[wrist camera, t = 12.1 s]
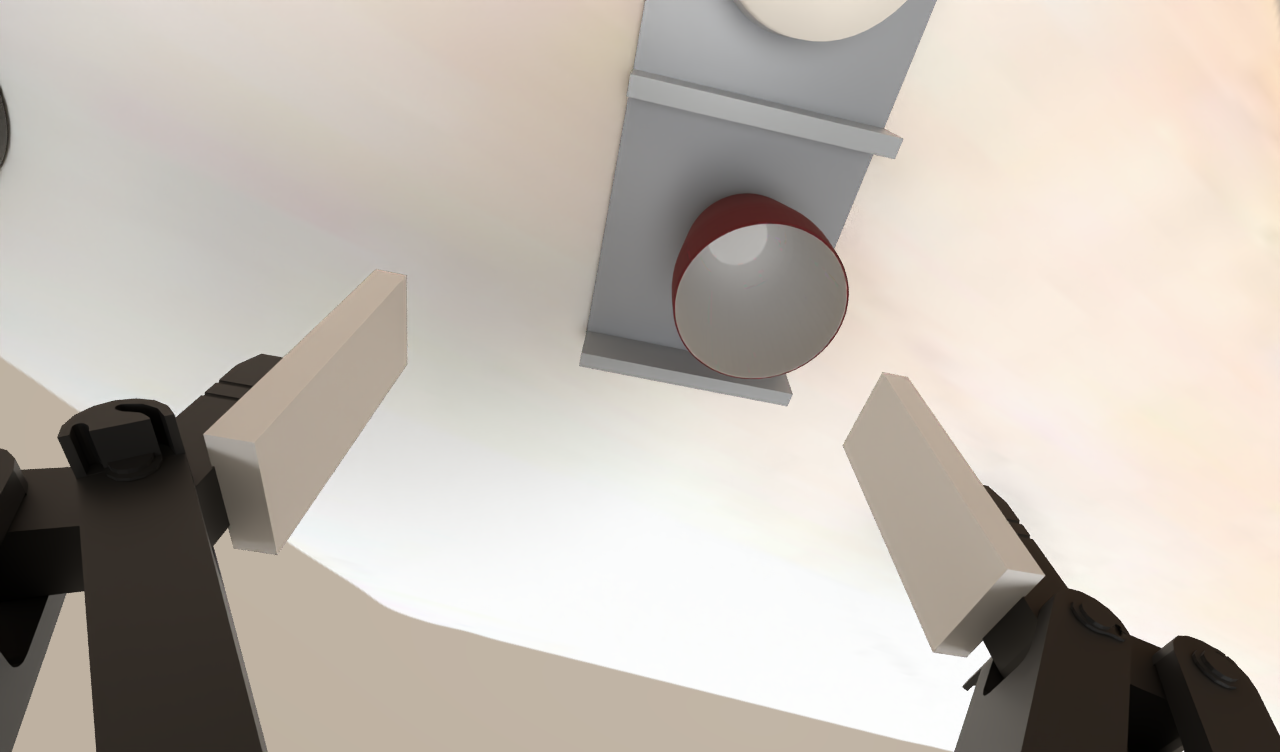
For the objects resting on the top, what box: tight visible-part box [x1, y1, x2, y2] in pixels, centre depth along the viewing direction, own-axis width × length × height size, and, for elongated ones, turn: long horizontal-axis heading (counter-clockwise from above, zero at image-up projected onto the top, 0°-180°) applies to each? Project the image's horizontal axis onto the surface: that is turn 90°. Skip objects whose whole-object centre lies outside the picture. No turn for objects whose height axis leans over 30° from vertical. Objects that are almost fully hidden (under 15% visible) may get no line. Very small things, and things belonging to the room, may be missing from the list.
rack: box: [579, 0, 937, 406], centre depth 30 cm, size 14×33×4 cm, turn 168°
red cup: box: [672, 193, 849, 379], centre depth 31 cm, size 11×8×10 cm
